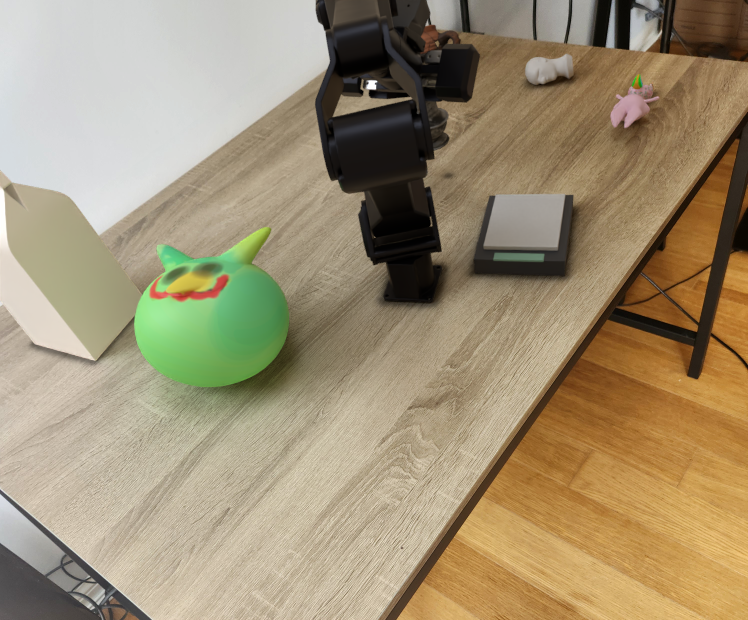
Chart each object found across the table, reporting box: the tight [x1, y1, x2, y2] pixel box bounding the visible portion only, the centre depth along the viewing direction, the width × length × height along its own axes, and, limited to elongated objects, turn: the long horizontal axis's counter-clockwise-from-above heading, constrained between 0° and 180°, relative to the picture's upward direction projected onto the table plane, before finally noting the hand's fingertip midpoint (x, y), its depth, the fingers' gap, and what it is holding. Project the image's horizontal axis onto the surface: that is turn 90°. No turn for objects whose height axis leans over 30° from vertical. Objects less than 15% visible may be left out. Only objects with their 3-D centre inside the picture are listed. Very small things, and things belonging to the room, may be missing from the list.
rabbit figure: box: [610, 73, 660, 129], centre depth 95 cm, size 6×6×15 cm
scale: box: [473, 193, 575, 277], centre depth 83 cm, size 13×11×3 cm
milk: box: [0, 169, 143, 362], centre depth 82 cm, size 12×12×26 cm
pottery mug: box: [420, 24, 462, 64], centre depth 118 cm, size 12×10×8 cm
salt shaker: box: [416, 64, 450, 152], centre depth 89 cm, size 6×6×12 cm
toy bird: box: [133, 226, 290, 388], centre depth 76 cm, size 18×17×15 cm
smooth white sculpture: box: [524, 53, 575, 86], centre depth 107 cm, size 4×8×5 cm
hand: (428, 92), depth 89 cm, fingers closed on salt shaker, 3 cm apart
